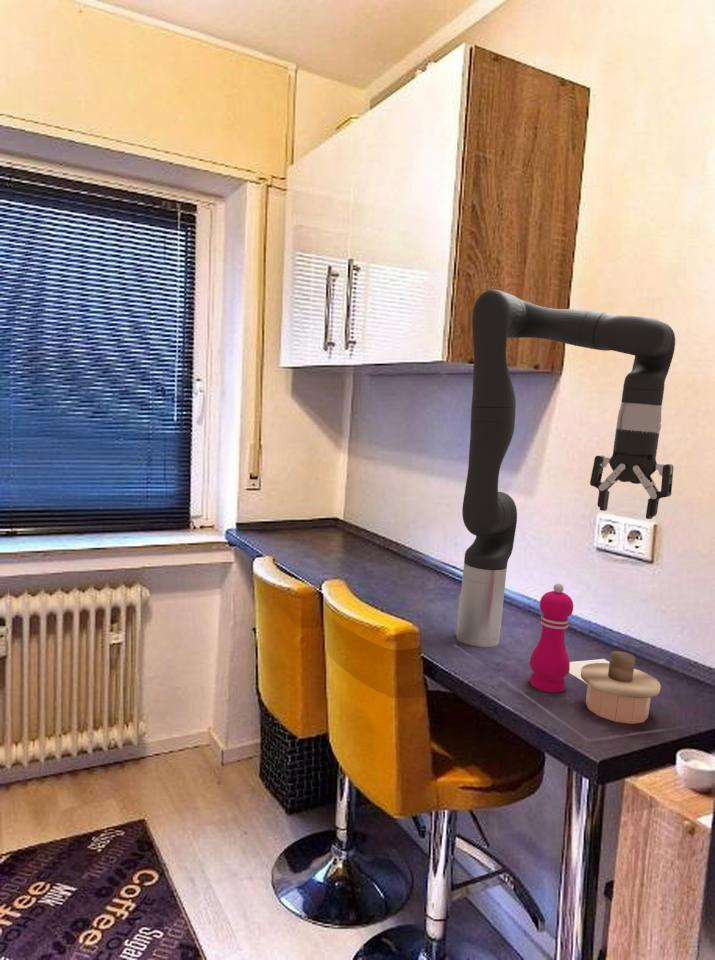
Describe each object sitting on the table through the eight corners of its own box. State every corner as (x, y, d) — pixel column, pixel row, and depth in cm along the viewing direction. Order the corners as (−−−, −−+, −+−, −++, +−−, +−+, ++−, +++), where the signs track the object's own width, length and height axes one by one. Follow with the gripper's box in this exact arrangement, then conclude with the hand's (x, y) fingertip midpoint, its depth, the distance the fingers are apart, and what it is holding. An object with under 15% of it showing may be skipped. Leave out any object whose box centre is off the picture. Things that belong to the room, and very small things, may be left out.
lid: (565, 670, 123) (568, 644, 122) (621, 664, 128) (624, 640, 127) (617, 701, 111) (620, 673, 110) (677, 694, 116) (681, 667, 115)
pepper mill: (573, 688, 129) (585, 585, 126) (556, 699, 123) (569, 591, 121) (538, 676, 133) (549, 576, 131) (520, 685, 128) (531, 582, 126)
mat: (553, 665, 140) (553, 663, 140) (603, 661, 145) (604, 658, 145) (597, 692, 128) (598, 690, 128) (650, 686, 133) (651, 684, 133)
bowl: (574, 702, 123) (577, 672, 122) (617, 697, 126) (621, 668, 126) (614, 728, 113) (618, 696, 113) (659, 722, 117) (664, 691, 117)
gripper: (592, 424, 128) (581, 509, 131) (672, 432, 120) (659, 523, 122) (606, 425, 134) (595, 506, 136) (683, 433, 126) (671, 519, 128)
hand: (625, 514), depth 129 cm, fingers open, 8 cm apart
